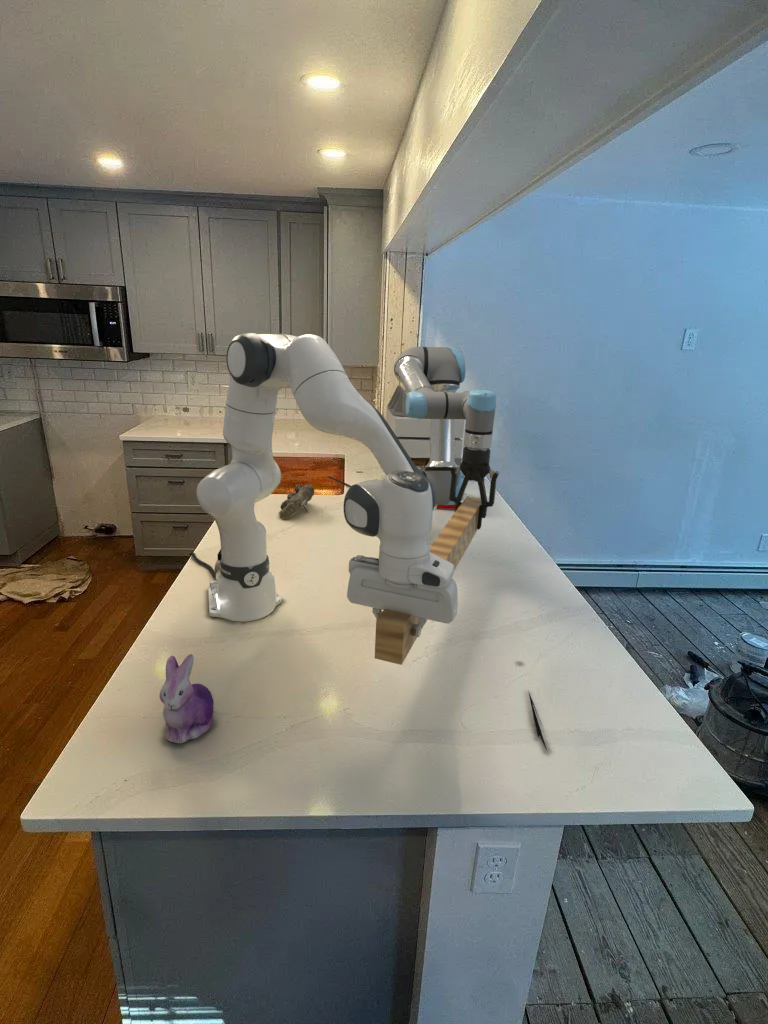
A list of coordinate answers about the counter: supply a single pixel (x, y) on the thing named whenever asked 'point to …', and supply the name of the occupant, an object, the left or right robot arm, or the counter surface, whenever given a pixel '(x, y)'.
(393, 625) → the bar
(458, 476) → the right robot arm
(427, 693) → the counter surface
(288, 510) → the fossil
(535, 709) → the feather
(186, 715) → the figurine
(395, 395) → the transformer
